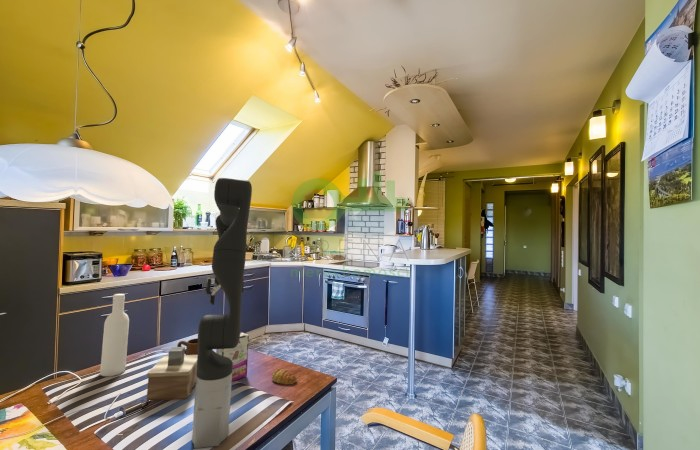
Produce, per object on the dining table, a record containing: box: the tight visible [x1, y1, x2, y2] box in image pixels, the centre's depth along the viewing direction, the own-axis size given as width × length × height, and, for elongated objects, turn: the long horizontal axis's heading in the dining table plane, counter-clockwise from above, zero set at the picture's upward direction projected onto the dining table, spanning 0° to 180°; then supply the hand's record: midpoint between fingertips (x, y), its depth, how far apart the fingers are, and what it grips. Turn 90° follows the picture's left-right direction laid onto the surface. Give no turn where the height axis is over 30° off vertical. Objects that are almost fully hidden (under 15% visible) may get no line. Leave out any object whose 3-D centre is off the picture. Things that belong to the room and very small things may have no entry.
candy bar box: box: [215, 331, 250, 382], centre depth 118 cm, size 11×5×16 cm, turn 143°
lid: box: [146, 346, 198, 378], centre depth 108 cm, size 15×13×7 cm
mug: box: [176, 337, 198, 355], centre depth 130 cm, size 12×8×9 cm, turn 89°
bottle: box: [99, 293, 130, 377], centre depth 119 cm, size 8×8×30 cm
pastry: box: [271, 368, 298, 385], centre depth 118 cm, size 9×7×4 cm
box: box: [146, 364, 197, 402], centre depth 108 cm, size 14×12×8 cm
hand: (223, 303), depth 123 cm, fingers open, 8 cm apart
